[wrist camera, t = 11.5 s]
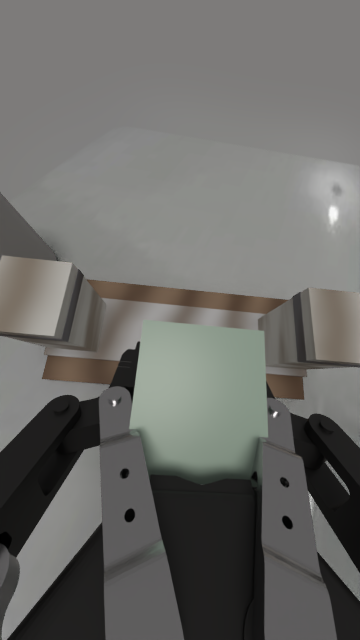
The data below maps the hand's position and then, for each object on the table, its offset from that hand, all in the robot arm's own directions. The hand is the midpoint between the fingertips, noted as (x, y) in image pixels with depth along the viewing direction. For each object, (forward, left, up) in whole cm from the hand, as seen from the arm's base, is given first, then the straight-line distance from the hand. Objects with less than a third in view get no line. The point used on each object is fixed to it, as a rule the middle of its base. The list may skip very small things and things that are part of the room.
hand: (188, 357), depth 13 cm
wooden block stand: (0, -3, -12) cm, 13 cm away
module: (0, +2, -4) cm, 5 cm away
